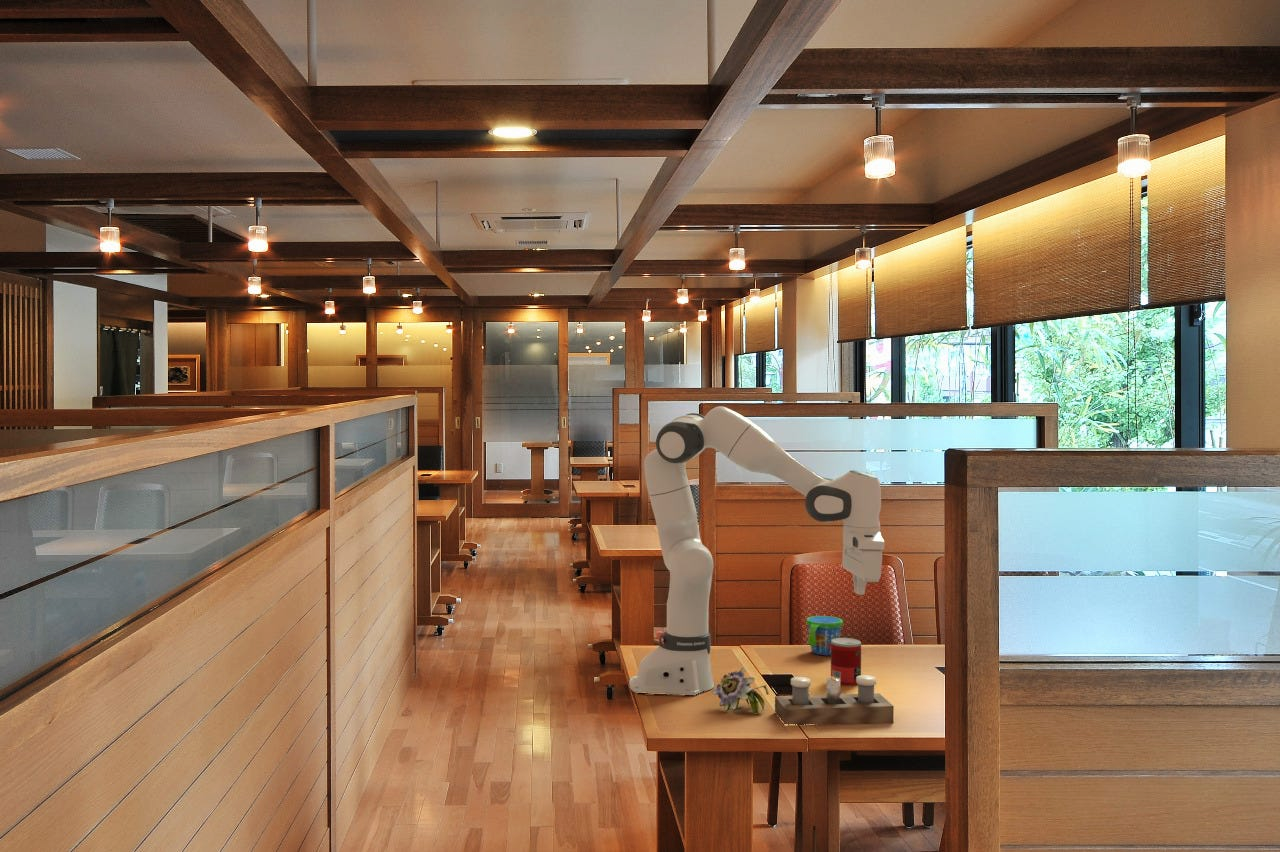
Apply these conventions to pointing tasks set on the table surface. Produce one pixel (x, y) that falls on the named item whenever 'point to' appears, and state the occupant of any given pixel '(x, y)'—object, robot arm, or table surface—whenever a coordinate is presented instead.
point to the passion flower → (738, 691)
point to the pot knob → (833, 690)
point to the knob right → (865, 688)
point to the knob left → (800, 690)
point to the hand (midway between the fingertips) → (859, 593)
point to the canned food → (846, 660)
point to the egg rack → (834, 710)
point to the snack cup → (823, 633)
